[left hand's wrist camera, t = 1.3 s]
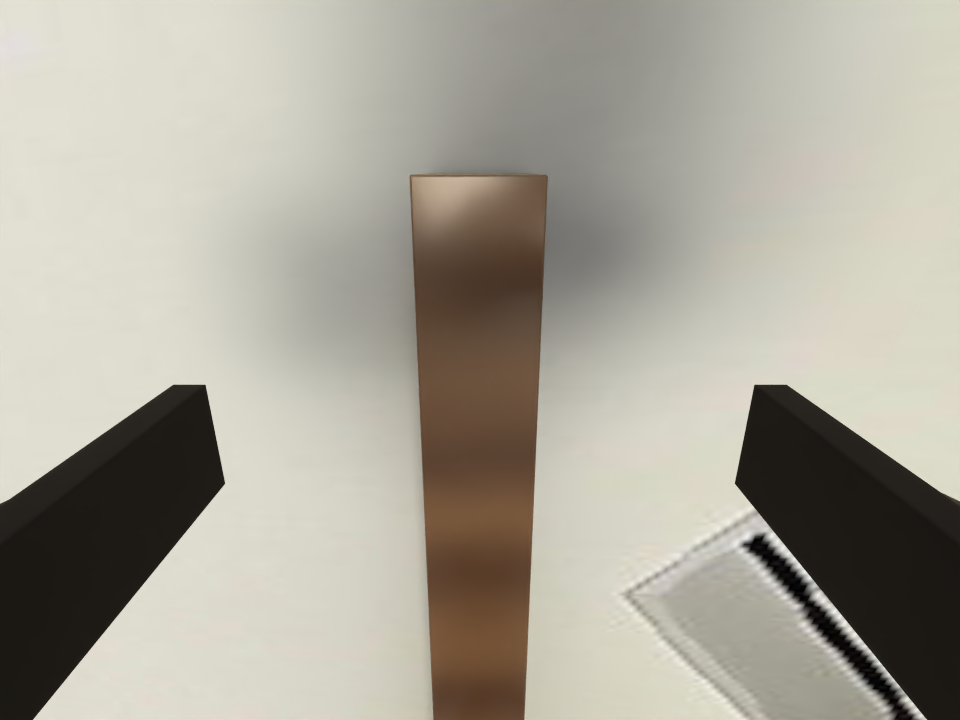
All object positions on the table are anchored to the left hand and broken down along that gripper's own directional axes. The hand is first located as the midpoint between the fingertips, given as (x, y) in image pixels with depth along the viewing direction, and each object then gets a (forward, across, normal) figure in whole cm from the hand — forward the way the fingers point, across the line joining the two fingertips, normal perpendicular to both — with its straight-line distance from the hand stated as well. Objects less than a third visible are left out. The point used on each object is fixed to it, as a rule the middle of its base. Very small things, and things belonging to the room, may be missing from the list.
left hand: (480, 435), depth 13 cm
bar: (+16, 0, -21) cm, 26 cm away
